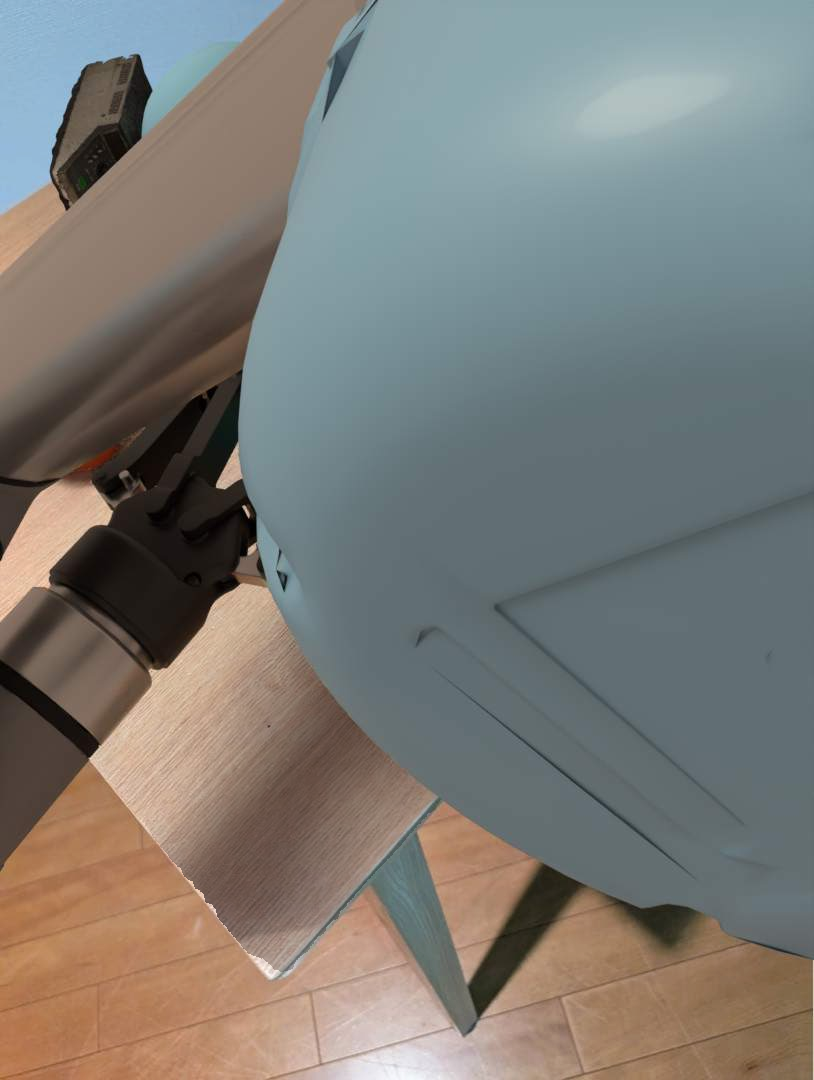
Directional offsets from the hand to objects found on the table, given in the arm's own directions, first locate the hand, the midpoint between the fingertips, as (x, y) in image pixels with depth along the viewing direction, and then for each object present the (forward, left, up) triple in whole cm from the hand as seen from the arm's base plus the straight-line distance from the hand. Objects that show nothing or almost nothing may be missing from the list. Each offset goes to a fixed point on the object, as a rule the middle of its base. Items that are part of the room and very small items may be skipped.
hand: (371, 326), depth 60 cm
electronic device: (+49, -10, -13) cm, 52 cm away
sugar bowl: (+41, -25, -8) cm, 49 cm away
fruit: (+28, +8, -17) cm, 34 cm away
